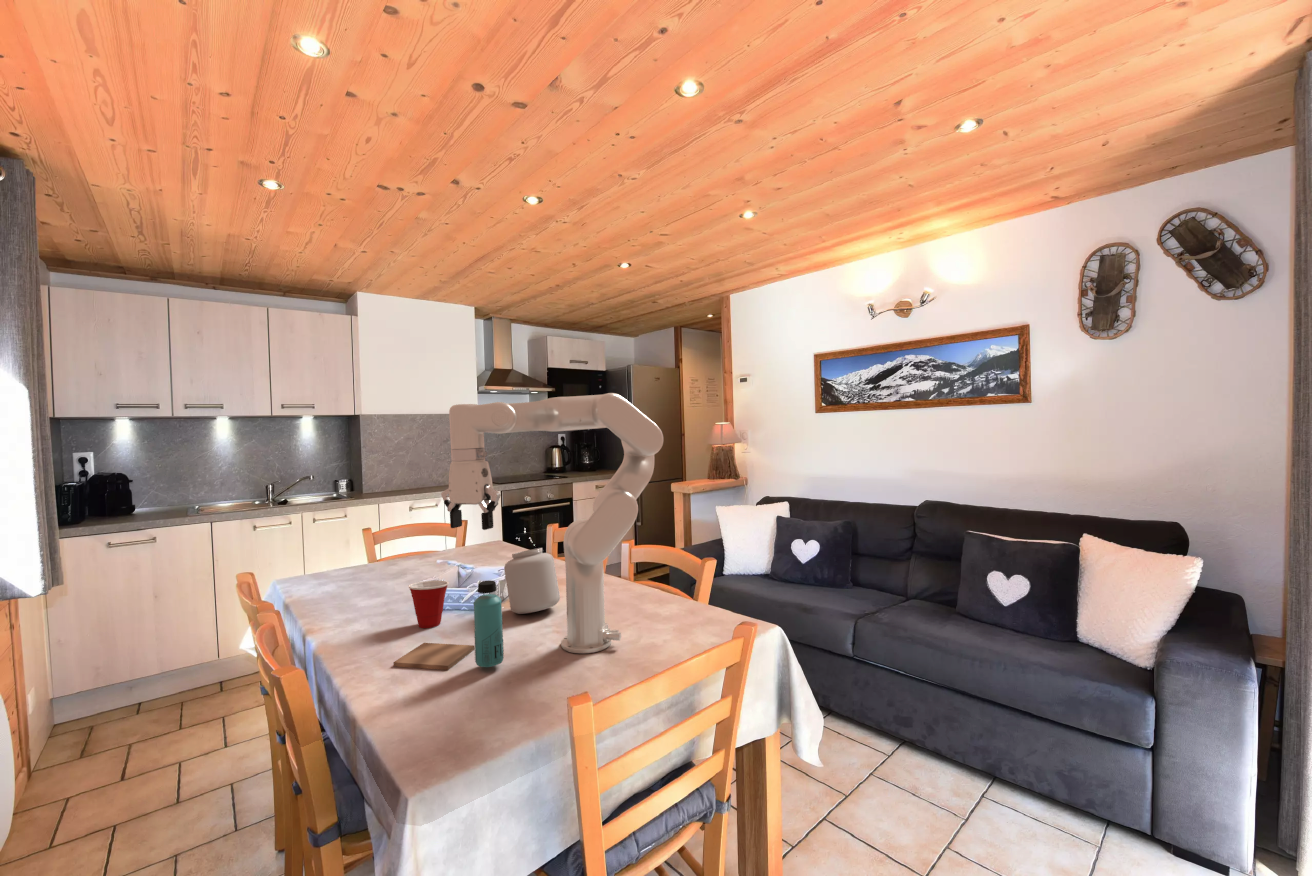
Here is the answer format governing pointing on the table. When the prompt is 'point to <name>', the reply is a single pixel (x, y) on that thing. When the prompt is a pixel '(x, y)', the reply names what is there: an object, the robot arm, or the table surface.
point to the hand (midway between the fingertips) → (471, 528)
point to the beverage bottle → (488, 626)
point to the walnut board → (434, 656)
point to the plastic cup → (428, 601)
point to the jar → (531, 581)
